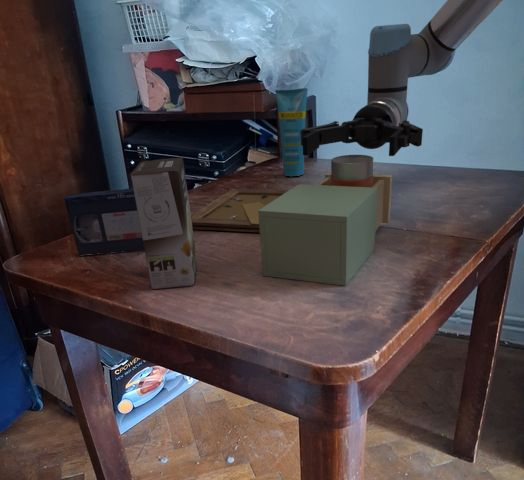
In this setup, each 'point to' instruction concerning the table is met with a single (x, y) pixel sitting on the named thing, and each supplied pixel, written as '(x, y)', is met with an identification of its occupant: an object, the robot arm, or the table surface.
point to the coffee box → (165, 222)
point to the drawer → (383, 196)
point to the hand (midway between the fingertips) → (347, 146)
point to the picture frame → (235, 210)
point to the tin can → (352, 171)
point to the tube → (292, 128)
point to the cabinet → (318, 233)
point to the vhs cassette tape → (104, 221)
